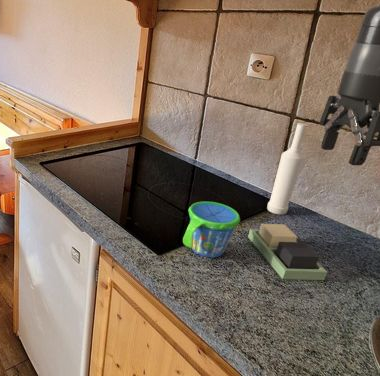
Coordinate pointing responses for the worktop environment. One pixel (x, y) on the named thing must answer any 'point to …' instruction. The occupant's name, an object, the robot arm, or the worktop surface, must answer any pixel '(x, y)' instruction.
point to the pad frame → (284, 273)
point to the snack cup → (210, 228)
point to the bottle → (287, 174)
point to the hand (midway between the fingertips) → (340, 156)
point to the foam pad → (276, 234)
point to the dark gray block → (296, 255)
